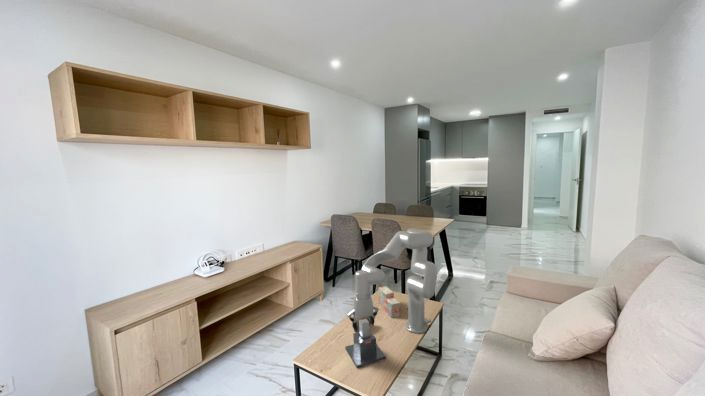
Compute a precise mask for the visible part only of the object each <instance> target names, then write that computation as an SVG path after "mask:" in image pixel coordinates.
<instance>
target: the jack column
mask: <svg viewBox="0 0 705 396" xmlns="http://www.w3.org/2000/svg"><path fill="white" fill-rule="evenodd" d="M369 330H370V327H369V322H368V320H367V319H363V320H359V335H360V338H361V339H362V340H363V339H367V338H370V332H371V331H370V332H369Z"/></svg>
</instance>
